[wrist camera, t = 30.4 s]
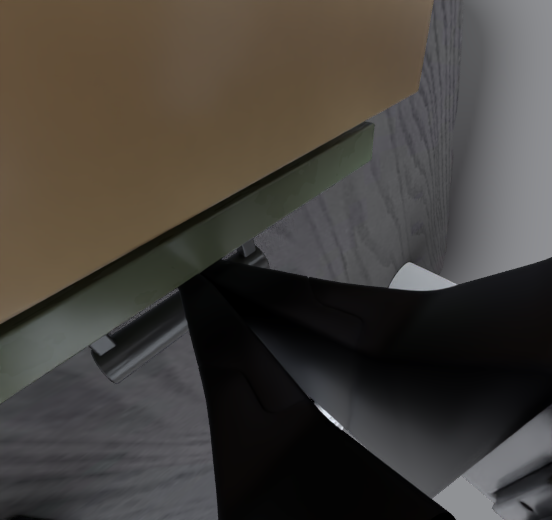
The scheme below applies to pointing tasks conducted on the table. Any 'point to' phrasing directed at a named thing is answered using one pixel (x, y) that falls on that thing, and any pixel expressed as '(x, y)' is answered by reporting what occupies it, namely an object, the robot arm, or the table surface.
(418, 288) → the cylindrical container
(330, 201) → the table surface
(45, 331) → the drawer
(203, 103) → the cabinet
